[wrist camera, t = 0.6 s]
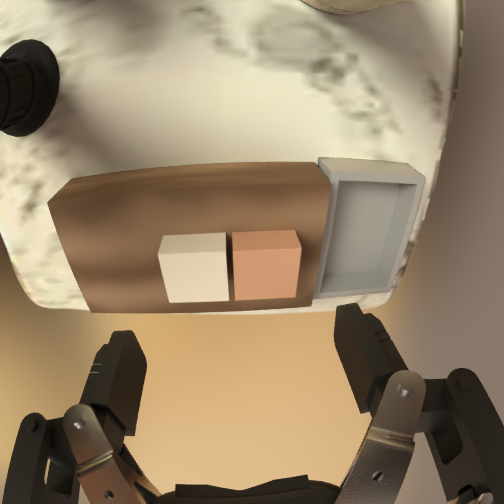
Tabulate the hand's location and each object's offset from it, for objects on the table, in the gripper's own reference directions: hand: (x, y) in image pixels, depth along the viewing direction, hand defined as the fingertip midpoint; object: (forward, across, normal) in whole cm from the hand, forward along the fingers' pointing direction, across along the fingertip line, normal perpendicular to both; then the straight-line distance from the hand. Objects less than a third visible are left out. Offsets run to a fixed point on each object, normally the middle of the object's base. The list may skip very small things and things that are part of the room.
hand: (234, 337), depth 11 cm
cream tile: (+13, +3, +4) cm, 14 cm away
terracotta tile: (+13, -2, +4) cm, 14 cm away
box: (+18, -12, +5) cm, 23 cm away
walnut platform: (+18, +4, +3) cm, 19 cm away
